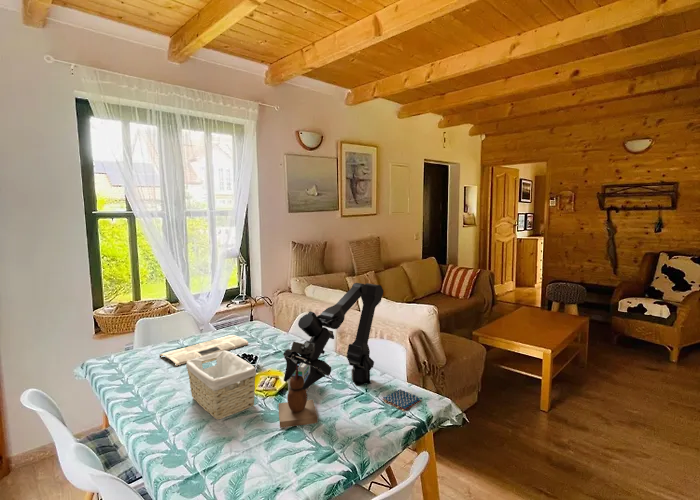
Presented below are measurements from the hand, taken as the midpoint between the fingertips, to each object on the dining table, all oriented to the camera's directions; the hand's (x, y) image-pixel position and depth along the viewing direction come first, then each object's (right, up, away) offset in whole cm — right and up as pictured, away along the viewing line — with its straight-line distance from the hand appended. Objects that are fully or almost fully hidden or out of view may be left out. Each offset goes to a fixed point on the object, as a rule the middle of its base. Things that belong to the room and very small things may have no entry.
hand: (293, 385), depth 128 cm
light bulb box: (0, -9, +22) cm, 24 cm away
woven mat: (+37, -10, +11) cm, 40 cm away
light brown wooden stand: (+1, -11, +2) cm, 11 cm away
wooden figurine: (+1, -9, +2) cm, 9 cm away
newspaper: (-53, -6, +64) cm, 83 cm away
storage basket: (-27, -11, +12) cm, 31 cm away
